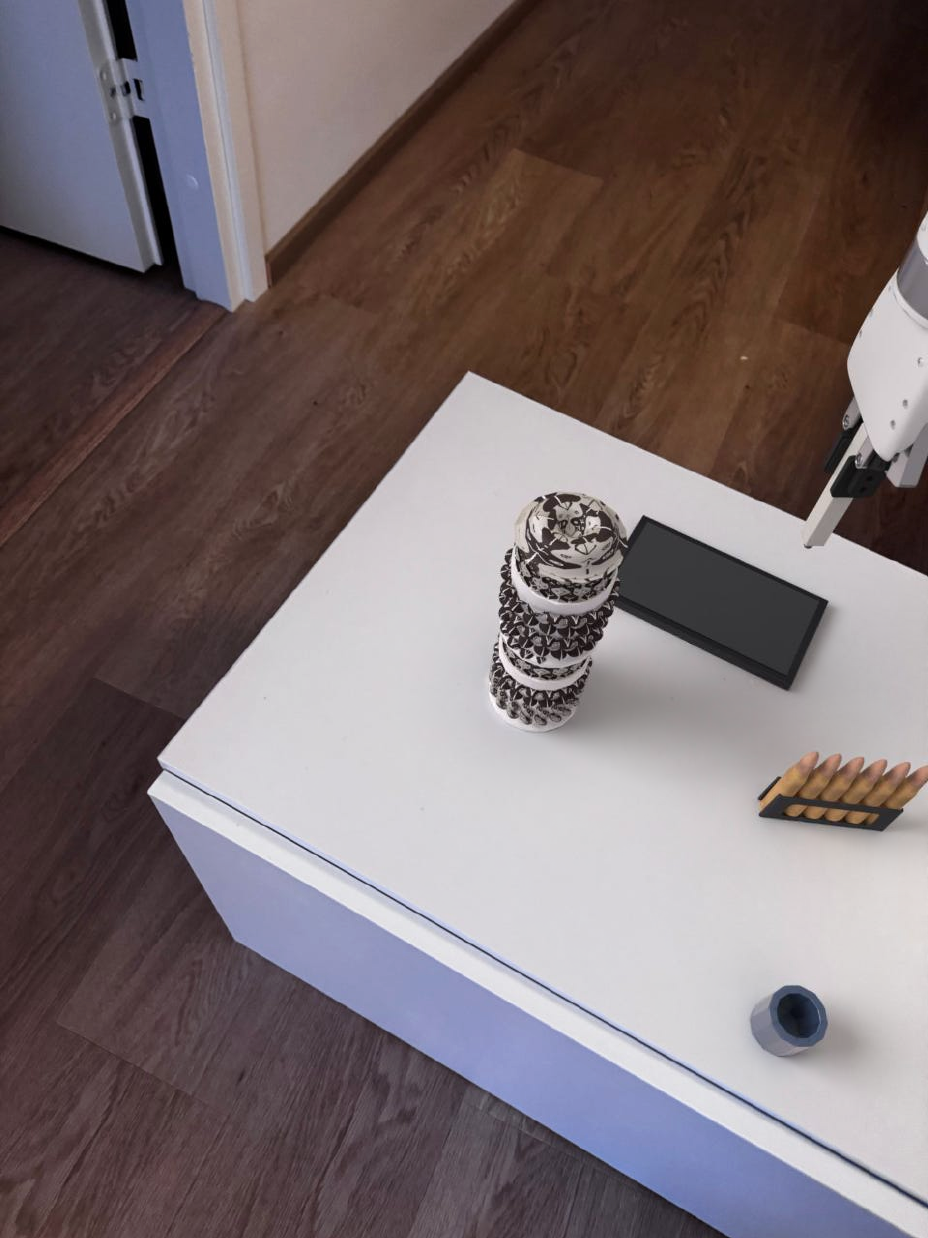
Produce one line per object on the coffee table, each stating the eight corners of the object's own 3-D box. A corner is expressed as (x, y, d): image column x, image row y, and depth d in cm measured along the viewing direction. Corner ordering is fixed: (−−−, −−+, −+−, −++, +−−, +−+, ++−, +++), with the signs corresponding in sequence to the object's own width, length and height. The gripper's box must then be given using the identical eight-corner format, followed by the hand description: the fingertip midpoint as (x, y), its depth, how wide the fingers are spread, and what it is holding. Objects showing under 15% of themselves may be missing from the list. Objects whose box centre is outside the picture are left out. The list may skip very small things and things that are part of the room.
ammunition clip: (757, 818, 83) (805, 762, 73) (755, 798, 84) (803, 740, 74) (881, 833, 83) (947, 779, 73) (878, 813, 84) (943, 756, 74)
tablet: (825, 606, 96) (829, 600, 95) (787, 691, 90) (791, 685, 89) (640, 520, 100) (643, 513, 99) (594, 596, 95) (596, 589, 94)
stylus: (815, 538, 80) (884, 422, 68) (819, 553, 79) (890, 439, 67) (796, 537, 79) (862, 421, 68) (800, 553, 79) (867, 439, 67)
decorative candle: (474, 724, 87) (496, 562, 66) (495, 638, 92) (521, 461, 71) (575, 747, 86) (629, 590, 65) (590, 659, 91) (645, 486, 70)
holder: (797, 998, 76) (820, 984, 71) (808, 1057, 73) (833, 1046, 69) (744, 999, 75) (764, 985, 71) (754, 1057, 73) (775, 1047, 69)
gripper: (1077, 375, 53) (924, 569, 69) (986, 197, 61) (868, 406, 77) (944, 373, 52) (820, 568, 68) (870, 194, 61) (775, 405, 76)
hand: (846, 481), depth 72 cm, fingers closed on stylus, 1 cm apart
